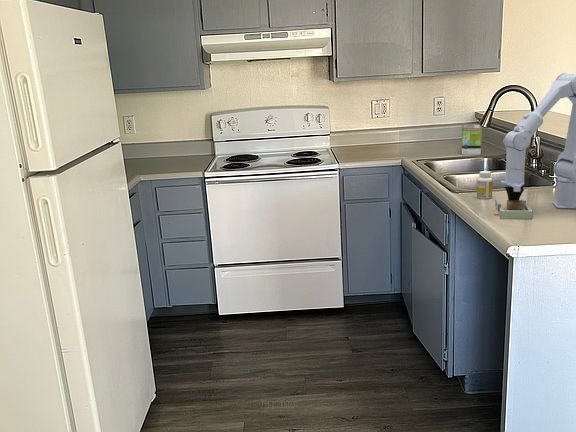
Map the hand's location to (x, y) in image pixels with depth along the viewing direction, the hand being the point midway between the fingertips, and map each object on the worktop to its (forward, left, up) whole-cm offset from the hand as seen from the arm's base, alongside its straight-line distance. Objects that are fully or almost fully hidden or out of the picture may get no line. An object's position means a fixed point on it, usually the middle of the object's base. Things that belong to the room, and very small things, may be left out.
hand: (513, 208), depth 187 cm
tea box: (+6, -124, -2) cm, 124 cm away
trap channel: (0, -2, -1) cm, 2 cm away
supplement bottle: (+7, -21, -2) cm, 22 cm away
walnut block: (0, +4, -1) cm, 4 cm away
